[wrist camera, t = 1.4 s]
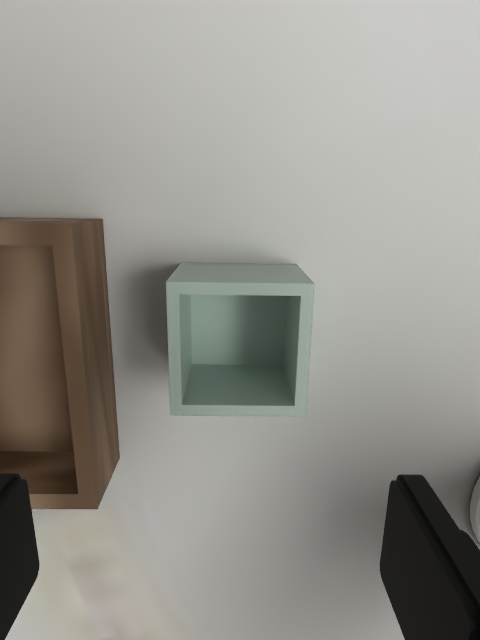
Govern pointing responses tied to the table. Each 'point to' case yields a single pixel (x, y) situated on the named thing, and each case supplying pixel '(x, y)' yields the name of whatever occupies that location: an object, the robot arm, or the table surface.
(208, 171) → the table surface
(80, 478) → the big crate
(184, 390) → the small crate
